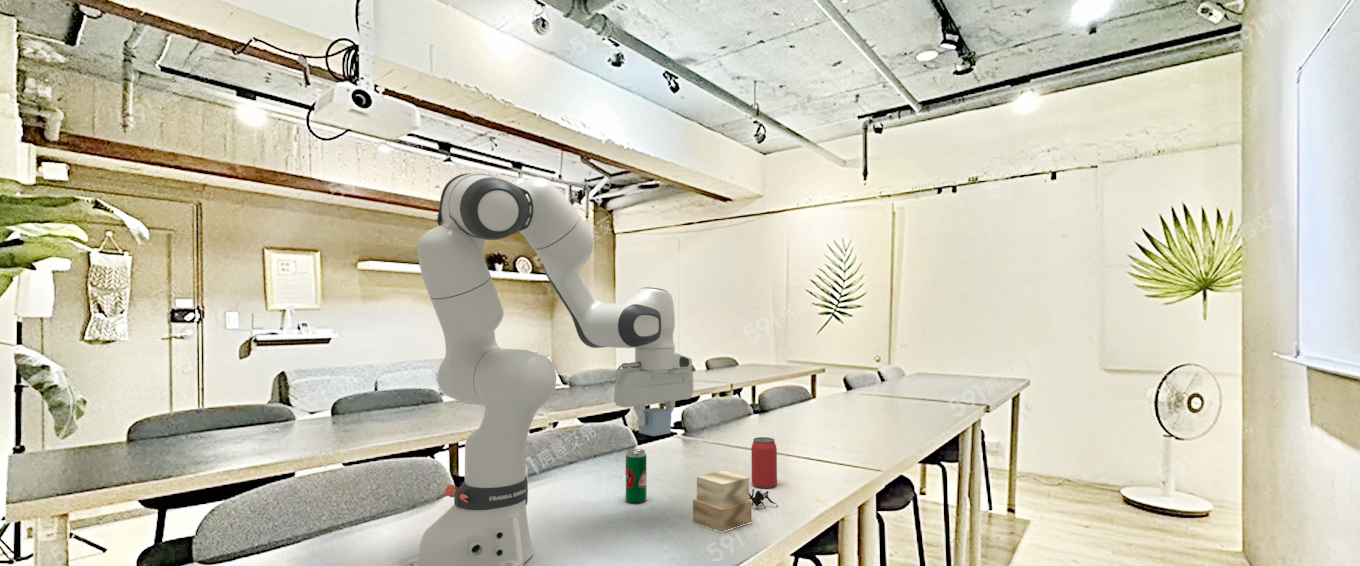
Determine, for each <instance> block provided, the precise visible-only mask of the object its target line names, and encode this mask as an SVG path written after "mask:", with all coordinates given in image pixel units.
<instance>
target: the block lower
mask: <svg viewBox="0 0 1360 566" xmlns="http://www.w3.org/2000/svg"><path fill="white" fill-rule="evenodd" d="M752 519H753V518H752V500H751V499H749V501H747V502H743V503H740V504H737V505H734V506H730V507H727V508H724V509H722V508H719V507H716V506H714V505H711V504H708V503H705V502H702V501H699V500H697V498H694V499H692V522H693V523H695V524H697V523H698V525H701V526H702V525H704V526H703V527H705V526H707V527H706V528H708V527H709V528H708V529H710V528H712V529H711V530H713V529H716V530H718V531H721V532H723V531H725V530H728V529H731V528H734V527H737V526H740V525H743V524H747V523H749V522H752ZM752 523H753V522H752ZM718 531H717V532H718Z"/></svg>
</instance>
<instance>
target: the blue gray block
mask: <svg viewBox="0 0 1360 566" xmlns="http://www.w3.org/2000/svg"><path fill="white" fill-rule="evenodd" d="M643 412H644V415H645V417H648V425H644V426H641V425H639V424H638V433H639V434H642V435H647V436H651V437H657V436H662V435H667V434H671V431H672V430H671V422H672V421H671V420H672V413H671V410H666V409H665V408H659V407H652V408H645V410H643Z"/></svg>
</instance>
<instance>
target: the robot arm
mask: <svg viewBox="0 0 1360 566" xmlns="http://www.w3.org/2000/svg"><path fill="white" fill-rule="evenodd" d="M440 195H441V196H440V202H439V208H438V213H437V218H436V219H437V221H436V223H437V224H438V226H436V227H433V228H431V229H430V230H427V232H426V233H424V234H423V235H422V236H421V237H420V238H419V240H418V242H417V245H416V251H417V252H416V253H417V258H418V264H419V268H420V272H421V276H422V279H423V282H424V286H425V288H426V290H427V294H428V296H429V299H430V301H431V303H432V306H433V308H434V311H435V313H436V316H437V319H438V321H439V325H440V326H441V330H442V333H443V337H444V342H445V344H444V345H445V357H444V358H443V359H442V361H441V363H440V365H439V368H438V371H437V381H438V382H437V383H438V386H439V388H440V390H441V391H442V393H443V394H444V395H445V396H447V397H448V398H451V399H453V400H455V401H458V402H460V403H463V404H466V405H476V406H484V414H483V418H482V421H481V424H480V426H479V428H478V429H476V430H475V431H473V432H472V433H471V434H470V435H469V436H468V437H467V438H466V441H465V444H464V481H462V484H461V485H459V486H458V487H457V486H455V485H454V484H448V485H446V487H445V489H444V492H445V495H446V496H448V497H450V498H453V503H454V504H453V505H452V506H451V507H450V508H448V510H446V512H445V513H443V514H442V515H441V516H440V517H439V518H438V519H437V520H435V521H434V522H433V523H432V524H430V526H428V528H427V529H426V530H425V531H424V533H423V534H422V537H421V541H420V544H419V551H418V555H416V556H414V557H410V558H409V559H407V560H406V562H405V566H524V564H525V562H527V561H528V560H529V559H530V558H532V556H533V555H534V552H535V550H534V547H533V544H532V539H531V535H530V530H529V522H528V516H527V515H528V514H527V505H528V498H529V495H528V494H529V490H528V489H529V488H528V487H529V485H528V481H529V480H528V477H527V476H526V458H527V456H526V455H527V442H528V440H527V439H528V436H529V431H530V428H531V425H532V422H533V420H534V417H535V416H536V414H537V413H538V411H539V410H540V409H541V408H542V407H543V405H545V404H546V403H547V402H548V401H549V400H550V399H551V397H552V396H553V394H554V392H555V389H556V385H557V372H556V369H555V366H554V364H553V362H552V361H551V359H550V358H548V357H547V356H545V355H543V354H539V353H538V352H533V351H531V350H528V349H517V348H515V349H514V348H501V347H500V346H499V345H498V343H497V340H496V335H495V332H496V331H495V330H496V329H497V328H498V327H499V325H500V324H501V323H502V321H503V318H504V313H505V312H504V308H503V305H502V302H501V299H500V297H499V294H498V291H497V288H496V287H495V283H494V280H493V277H492V276H491V273H490V270H489V268H488V265H487V263H486V261H485V253H484V247H485V242H486V240H487V241H496V240H502V239H505V238H507V237H510V236H512V235H514V234H516V233H520V234H521V235H522V236H523V237H524V239H525V240H526V241H527V243H528V244H529V246H530V247H531V248H532V249H533V251H534V252H535V253H536V255H537V256H538V257H539V259H540V261H541V262H542V267H543V270H544V273H545V275H546V277H547V278H548V281H549V282H550V284H551V286H552V287H553V290H554V291H555V292H556V294H557V295H558V297H559V298H560V300H561V301H562V303H563V304H564V306H565V308H566V309H567V311H568V312H569V315H570V316H571V319H572V321H573V324H574V328H575V330H576V333H577V335H578V338H579V339H580V341H581V342H582V343H583V344H584V345H585V346H587V347H589V348H593V349H599V348H600V349H601V348H602V349H603V348H619V349H620V348H621V349H622V348H624V349H633V348H634V354H635V355H634V361H633V362H623V363H621V365H619V366H618V367H617V368H616V371H615V382H614V383H615V384H614V392H613V402H614V404H615V405H616V406H617V407H621V408H630V407H633V410H634V412H635V414H636V416H637V417H638V418H637V419H638V421H637V422H638V426H639V425H641V426H644V425H648V417H645V415H644V412H643V410H645V409H646V405H653V404H654V405H655V404H659V403H660V404H661V403H664V405H665V407H664V409H666V410H671V414H672V413H673V411H674V409H675V406H676V402H677V401H682V400H689V399H691V398H692V396H693V395H694V374H693V371H692V369H691V367H692V365H693V358H691V357H688V356H686V355H683V354H680V353H677V352H675V349H676V347H675V342H674V332H675V329H676V328H675V325H676V323H675V307H674V301H673V297H672V294H671V293H670V292H669V291H667V290H665V289H662V288H659V287H651V286H649V287H642V288H641V287H640V288H639V289H638V291H637V293H636V294H635V295H634V296H632V297H631V298H629V299H627V300H624V301H623V302H616V303H615V302H610V303H609V302H608V303H607V302H604V301H600V300H599V299H597V298H595V297H594V295H593V294H592V293H591V291H590V289H589V286H588V285H587V284H586V282H585V280H584V278H583V277H582V276H581V273H580V269H581V268H583V266H584V265H585V264H586V263H587V261H588V260H589V259H590V257H591V255H592V253H593V249H594V238H593V234H592V232H591V231H590V229H589V227H588V225H587V223H586V222H585V221H584V219H583V218H582V217H581V215H580V213H579V212H578V211H577V209H576V208H575V207H574V206H573V204H572V203H571V202H570V201H569V200H568V199H567V197H566V196H565V195H564V193H562V192H561V191H560V190H559V189H558V187H556V186H555V184H553V182H551V181H550V180H548V179H546V178H543V177H538V176H537V177H532V178H527V179H525V180H523V181H521V182H520V183H519V184H517V185H516V184H514V183H512V182H510V181H508V180H505V179H502V178H499V177H494V176H492V175H490V174H486V173H470V172H469V173H462V174H459V175H457V176H454V177H453V178H451V179H450V180H449V181H448V182H447V183H446V184H445V186H444V188H443V189H442V192H441V194H440Z"/></svg>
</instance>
